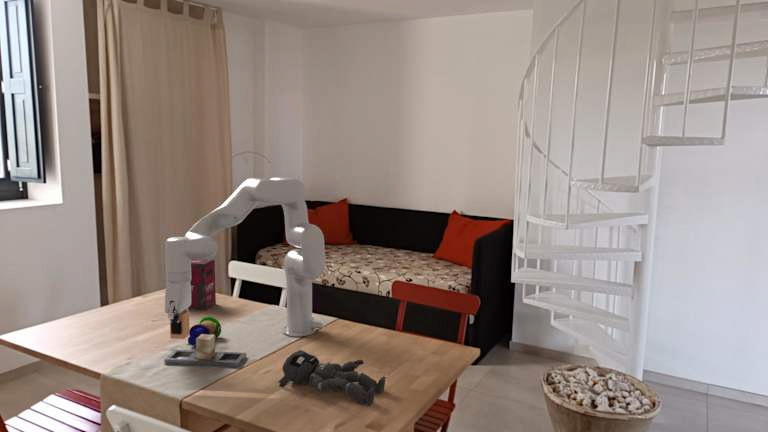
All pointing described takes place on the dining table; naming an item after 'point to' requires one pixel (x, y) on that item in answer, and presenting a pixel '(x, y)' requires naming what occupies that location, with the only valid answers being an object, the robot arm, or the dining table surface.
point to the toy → (204, 329)
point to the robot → (331, 376)
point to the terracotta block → (185, 326)
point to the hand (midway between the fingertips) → (179, 330)
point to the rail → (218, 360)
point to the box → (202, 284)
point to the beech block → (205, 347)
